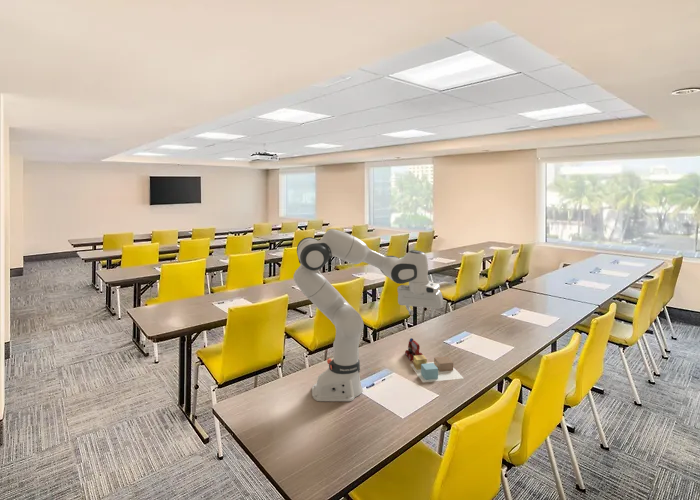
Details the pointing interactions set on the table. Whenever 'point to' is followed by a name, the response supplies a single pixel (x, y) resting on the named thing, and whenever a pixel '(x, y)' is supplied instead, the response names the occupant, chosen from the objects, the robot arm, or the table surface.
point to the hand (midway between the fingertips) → (420, 315)
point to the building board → (440, 375)
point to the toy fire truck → (412, 350)
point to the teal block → (429, 371)
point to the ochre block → (419, 361)
